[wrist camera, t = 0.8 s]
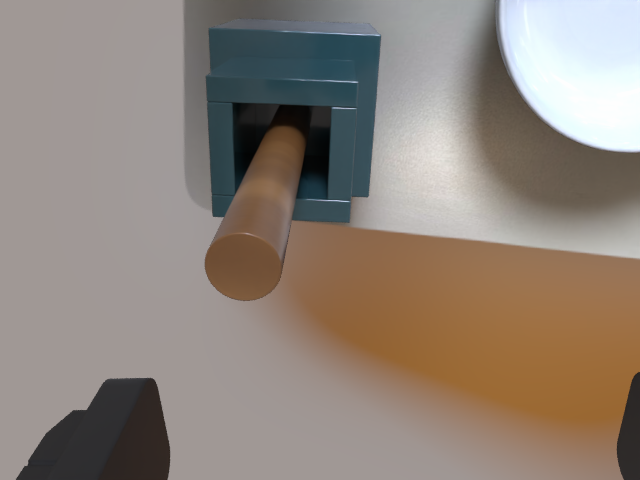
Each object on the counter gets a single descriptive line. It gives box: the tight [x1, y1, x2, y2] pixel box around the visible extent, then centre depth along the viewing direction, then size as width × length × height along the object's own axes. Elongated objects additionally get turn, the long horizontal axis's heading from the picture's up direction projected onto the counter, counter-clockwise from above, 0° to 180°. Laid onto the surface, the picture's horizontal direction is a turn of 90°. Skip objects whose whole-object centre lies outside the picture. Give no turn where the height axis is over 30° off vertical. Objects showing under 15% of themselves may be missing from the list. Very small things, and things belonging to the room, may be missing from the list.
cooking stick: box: [205, 105, 311, 301], centre depth 25 cm, size 2×2×20 cm
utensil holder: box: [206, 18, 381, 223], centre depth 35 cm, size 10×10×19 cm
